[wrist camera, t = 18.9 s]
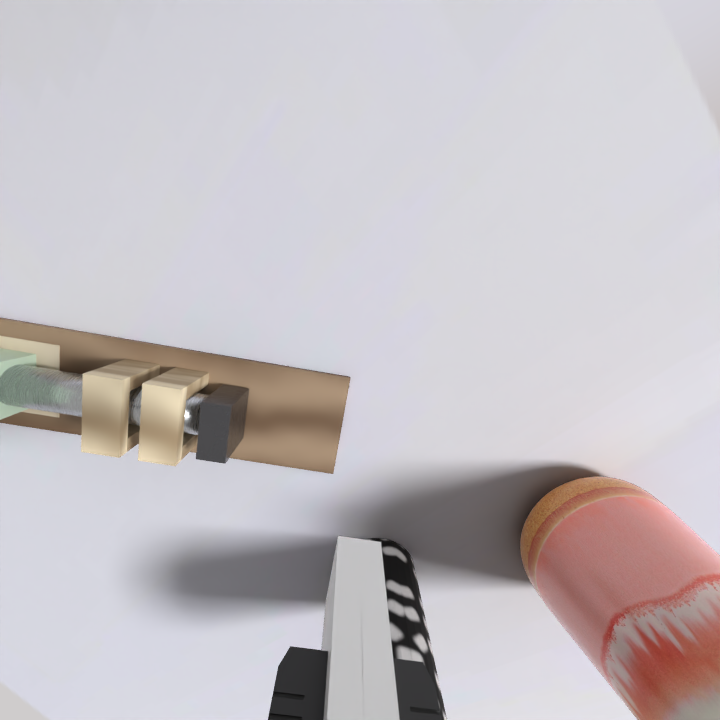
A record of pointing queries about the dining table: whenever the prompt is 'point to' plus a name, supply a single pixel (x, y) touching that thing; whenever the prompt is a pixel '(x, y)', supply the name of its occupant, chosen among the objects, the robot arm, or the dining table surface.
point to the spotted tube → (407, 611)
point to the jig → (181, 398)
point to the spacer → (5, 360)
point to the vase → (631, 593)
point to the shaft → (134, 406)
